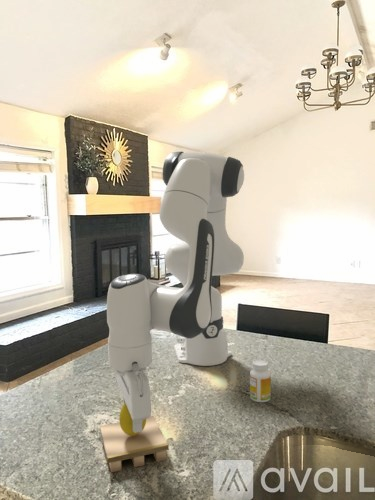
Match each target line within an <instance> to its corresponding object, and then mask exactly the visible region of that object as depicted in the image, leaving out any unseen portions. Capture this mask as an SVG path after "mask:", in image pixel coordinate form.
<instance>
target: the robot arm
mask: <svg viewBox="0 0 375 500" xmlns="http://www.w3.org/2000/svg"><path fill="white" fill-rule="evenodd" d="M244 170H245V169H244V165H243V164H242V162H241V161H240V160H239V159H238V158H235V157H232V156H228V157H226V156H224V155H220V154H214V153H208V152H205V153H203V152H184V151H174V152H171V153H170V154H168V155H167V156H166V158H165V159H164V162H163V166H162V180H163V183H164V184H165V186H166V187H165V190H164V194H163V196H162V200H161V203H160V207H159V219H160V220H159V221H160V222H161V224H162V225H163V228H165V229H164V230H166V231H167V232H168V233H170V234H171V235H172V236H174V237H175V238H177V239H178V240H180V241H182V243H177V244H172V245H171V246H169V248H168V249H167V251H166V253H165V255H164V264H165V267H166V269H167V270H168V273H170V274H171V275H172V276H174V277H175V278H176V279H177V280H178V281H179V282H180V283H181V284H182V286H183V287H176V286H175V287H174V286H168V285H163V284H162V285H161V284H158V283H154V282H152V281H150V280H148V279H147V277H146V276H145V275H143V274H140V273H128V274H123V275H119V276H118V277H116V278H114V279H113V280H112V281H111V282H110V284H109V286H108V291H107V296H106V297H107V298H106V323H107V326H108V329H109V332H108V333H109V334H108V339H107V351H108V353H107V354H108V356H107V357H108V366H109V367H110V368H112V369H113V372H114V377H115V381H116V383H117V385H118V388H119V391H120V393H121V396H122V406H123V405H124V404H125V403H126V405H127V408H128V410H129V413H130V415H131V418H132V429H133V432H134V433H138V432H141V431H142V423H143V419H148V418H150V416H152V403H151V402H152V399H151V386H150V382H149V378H148V376H147V374H146V370H147V367H149V366H150V365H151V364H152V362H153V345H152V342H153V341H152V339H153V338H152V334H151V331H152V330H154V329H155V330H157V331H161V332H165V333H166V332H167V333H172V334H174V335H177V340H176V341H177V343H175V344H174V347H173V349H174V352H175V355H176V357H177V362H178V363H182V364H189V365H195V366H200V367H201V366H202V367H204V366H205V367H206V366H207V367H209V366H216V365H220V364H223V363H224V362H226V361H227V359H228V358H229V357H230V356H232V351H231V350H229V348H228V347H229V346H228V335H227V331H226V329H224V317H223V316H222V315H223V313H222V312H223V310H222V308H223V307H222V306H223V305H222V303H223V301H222V300H223V299H222V295H221V293H220V291H219V289H217V288H216V287H214V286H213V285H212V283H213V282H212V281H213V280H212V279H213V277H214V276H226V275H227V276H228V275H231V274H235V273H238V272H240V270H241V269H242V267H243V266H244V262H245V256H244V252H243V249H242V248H241V246H240V245H239V244H237V243H236V242H234V240H232V239H231V237H230V236H229V234H228V231H227V229H226V228H227V227H226V226H227V225H226V212H227V202H228V201H227V199H228V198H230V197H231V198H233V197H234V196H236V195H237V194H239V192H240V191H241V189H242V187H243V185H244V180H245V171H244Z"/></svg>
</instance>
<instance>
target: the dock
mask: <svg viewBox="0 0 375 500" xmlns="http://www.w3.org/2000/svg"><path fill="white" fill-rule="evenodd" d="M99 432H100V435H101V439H102V443H103V448H104V452H105V456H106V461H107V464H108V465H109V469H110V473H114V472H115V473H116V472H120V471H122V461H125V460H129V459H130V460H131V461H132V465H133V467H134V468H136V467H141V466H145V456H147V455H148V456H149V455H151V454H152V455H153V457H154V459H155V461H156V463H158V462H163V461H167V451H169V449H170V448H169V443H168V441H167V440H166V438H165V435H164V434H163V431H162V430H161V428H160V425H159V423H158V422H157V420H156V418H155V416H154V415H151V416H150V418H148V419H146V424H145V427H144V429H143V430H142V431H141V432H140V433H139V434H137V435H135V436H134V437H132V436H131V435H128V434H126V433H124V431H123V430H122V429H121V426H120V421H119V422H113V423H109V424H103V425H100V426H99Z"/></svg>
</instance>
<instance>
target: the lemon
mask: <svg viewBox="0 0 375 500" xmlns="http://www.w3.org/2000/svg"><path fill="white" fill-rule="evenodd" d="M118 417H119V419H118V421H119V422H120V426H121V429H122V430H123V431H124V433H126V434H128V435H131V436H132V437H134V436H135V435H137V434H139V433H140V432H138V433H134V432H133V429H132V418H131V415H130V413H129V410H128V408H127V405H126V403H125V404H124V405H123V404H122V406H121V408H120V412H119V416H118ZM145 424H146V419H143V423H142V430H143V429H144V427H145Z"/></svg>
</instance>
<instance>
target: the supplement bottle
mask: <svg viewBox="0 0 375 500" xmlns="http://www.w3.org/2000/svg"><path fill="white" fill-rule="evenodd" d="M271 379H272V375H271V371H270V370H269V362H268V361H267V360H263V359H256V360H255V359H254V360H253V361H252V368H251V369H250V372H249V398H250V399H251V400H252V401H253V402H255V403H256V402H257V403H267V402H269V401H271V396H272V395H271V394H272V393H271V392H272V389H271V387H272V385H271V383H272V382H271Z"/></svg>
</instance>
